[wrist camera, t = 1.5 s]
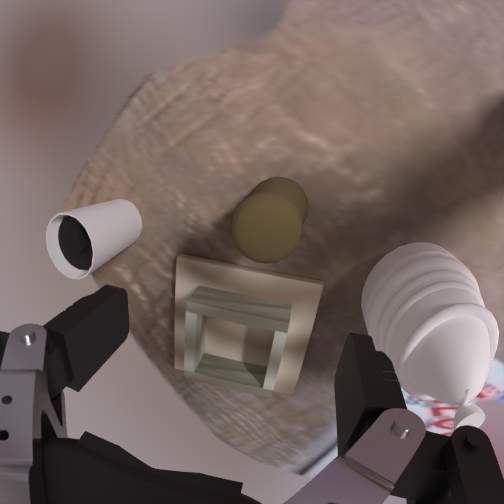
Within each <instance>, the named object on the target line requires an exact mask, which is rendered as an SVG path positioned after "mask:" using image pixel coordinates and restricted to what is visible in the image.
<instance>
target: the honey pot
mask: <svg viewBox="0 0 504 504" xmlns="http://www.w3.org/2000/svg"><path fill="white" fill-rule="evenodd" d="M361 308H362V312H363V317H364V321H365V324H366V328H367V332H368V335H370V336H371V337H372V339H373V342H374V346H375V349H376V351H383V352H384V353H385V354H386V355H387V356H388V357H389V359H390V360H391V361H392V363H393V366H394V369H395V372H396V373H397V374H398V380H399V382H400V384H401V386H402V388H403V389H404V390H405V391H406V392H407V393H408V394H409V395H411V396H413V397H415V398H418V399H421V400H431V401H433V400H439V401H442V402H445V403H449V404H459V406H458V409H457V412H456V414H455V417H454V430H455V429H456V428H458V427H460V426H464V425H470V426H474V427H477V428H479V427H480V426H481V424H482V423H483V422H484V419H485V414H484V413H483V411H482V410H481V409H480V408H479V407H478V406H476V405H474V404H467V402H468V401H470V400H472V399H473V398H475V397H476V396H477V395H478V394H479V392H480V391H481V389H482V388H483V386H484V383H485V381H486V378H487V375H488V370H489V364H490V363H491V361H492V359H493V357H494V355H495V352H496V349H497V346H498V337H499V330H498V326H497V321H496V319H495V318H494V316H493V315H492V313H491V312H490V311H489V310H488V309H486V308H485V306H484V302H483V300H482V298H481V294H480V291H479V287H478V284H477V281H476V279H475V278H474V276H473V275H472V273H471V272H470V271H469V269H468V268H467V267H466V266H464V264H462V263H461V262H460V261H459V260H458V259H456V258H455V257H454V256H453V255H452V254H450V253H449V252H448V251H446V250H445V249H443V248H442V247H440V246H438V245H435V244H431V243H428V242H413V243H409V244H406V245H403V246H400V247H398V248H396V249H394V250H393V251H391V252H389V253H388V254H386V255H385V256H384V257H383V258H382V259H381V260H380V261H379V262H378V263H377V264H376V265H375V266H374V267H373V269H372V271H371V272H370V274H369V276H368V277H367V279H366V282H365V285H364V288H363V291H362V300H361Z"/></svg>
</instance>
